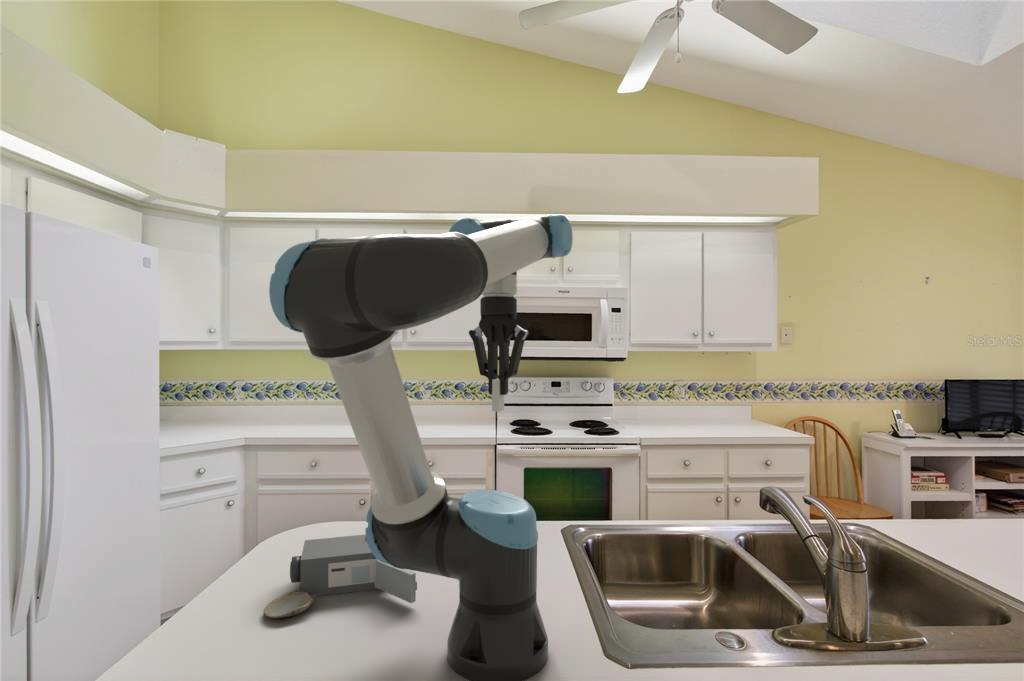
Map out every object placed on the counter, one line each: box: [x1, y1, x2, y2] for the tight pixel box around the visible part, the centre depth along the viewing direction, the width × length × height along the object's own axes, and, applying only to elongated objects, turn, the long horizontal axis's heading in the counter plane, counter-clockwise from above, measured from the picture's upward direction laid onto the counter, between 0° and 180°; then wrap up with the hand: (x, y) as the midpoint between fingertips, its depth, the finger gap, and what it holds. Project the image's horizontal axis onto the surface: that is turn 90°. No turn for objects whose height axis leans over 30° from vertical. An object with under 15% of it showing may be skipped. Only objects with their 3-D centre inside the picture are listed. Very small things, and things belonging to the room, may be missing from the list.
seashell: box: [263, 590, 316, 619], centre depth 95 cm, size 8×3×8 cm
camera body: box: [289, 533, 379, 598], centre depth 106 cm, size 10×18×8 cm, turn 106°
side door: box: [374, 558, 418, 604], centre depth 99 cm, size 2×10×5 cm, turn 52°
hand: (498, 410), depth 113 cm, fingers closed
